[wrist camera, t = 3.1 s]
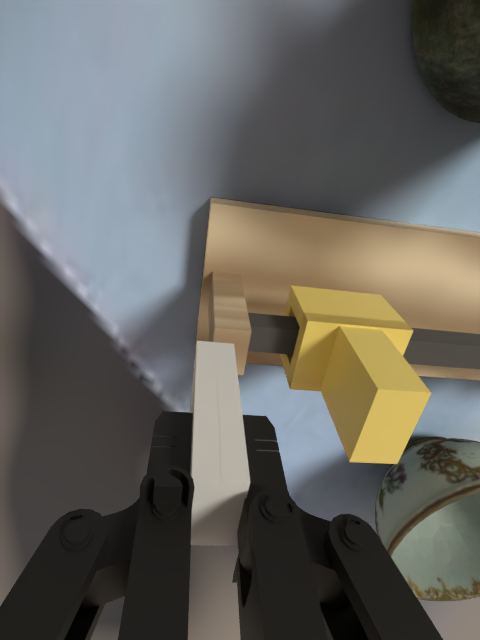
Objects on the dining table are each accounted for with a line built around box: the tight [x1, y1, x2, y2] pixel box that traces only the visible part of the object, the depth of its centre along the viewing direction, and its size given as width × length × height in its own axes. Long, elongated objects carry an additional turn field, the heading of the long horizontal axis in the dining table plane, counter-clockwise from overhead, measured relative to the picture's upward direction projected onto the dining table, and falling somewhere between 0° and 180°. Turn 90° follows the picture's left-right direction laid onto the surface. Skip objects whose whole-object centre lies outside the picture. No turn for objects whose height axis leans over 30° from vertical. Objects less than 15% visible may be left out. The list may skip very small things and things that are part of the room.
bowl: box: [375, 437, 480, 601], centre depth 31 cm, size 14×14×8 cm
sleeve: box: [280, 286, 431, 464], centre depth 18 cm, size 4×5×8 cm
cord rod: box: [248, 313, 480, 370], centre depth 21 cm, size 1×24×1 cm, turn 82°
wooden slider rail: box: [195, 197, 480, 380], centre depth 23 cm, size 10×28×8 cm, turn 82°
